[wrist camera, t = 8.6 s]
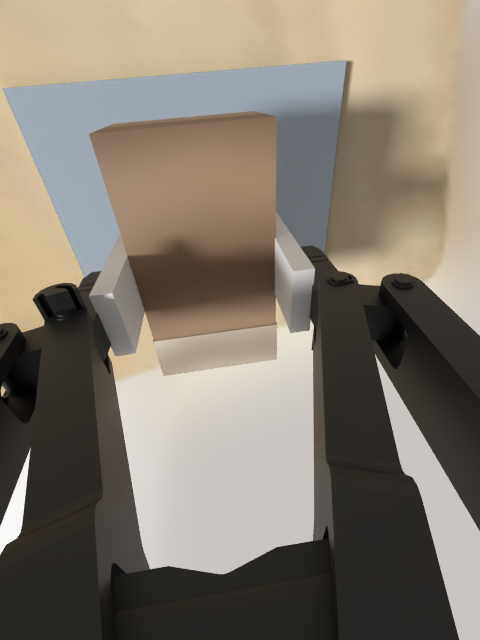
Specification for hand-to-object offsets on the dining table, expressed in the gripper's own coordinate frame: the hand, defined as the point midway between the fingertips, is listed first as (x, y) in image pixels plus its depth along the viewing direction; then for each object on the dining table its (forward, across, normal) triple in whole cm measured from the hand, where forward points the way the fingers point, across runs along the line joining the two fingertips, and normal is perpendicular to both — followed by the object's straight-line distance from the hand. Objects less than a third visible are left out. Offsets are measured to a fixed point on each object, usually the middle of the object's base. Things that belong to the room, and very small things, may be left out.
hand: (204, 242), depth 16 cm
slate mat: (+8, 0, 0) cm, 8 cm away
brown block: (0, 0, 0) cm, 0 cm away
